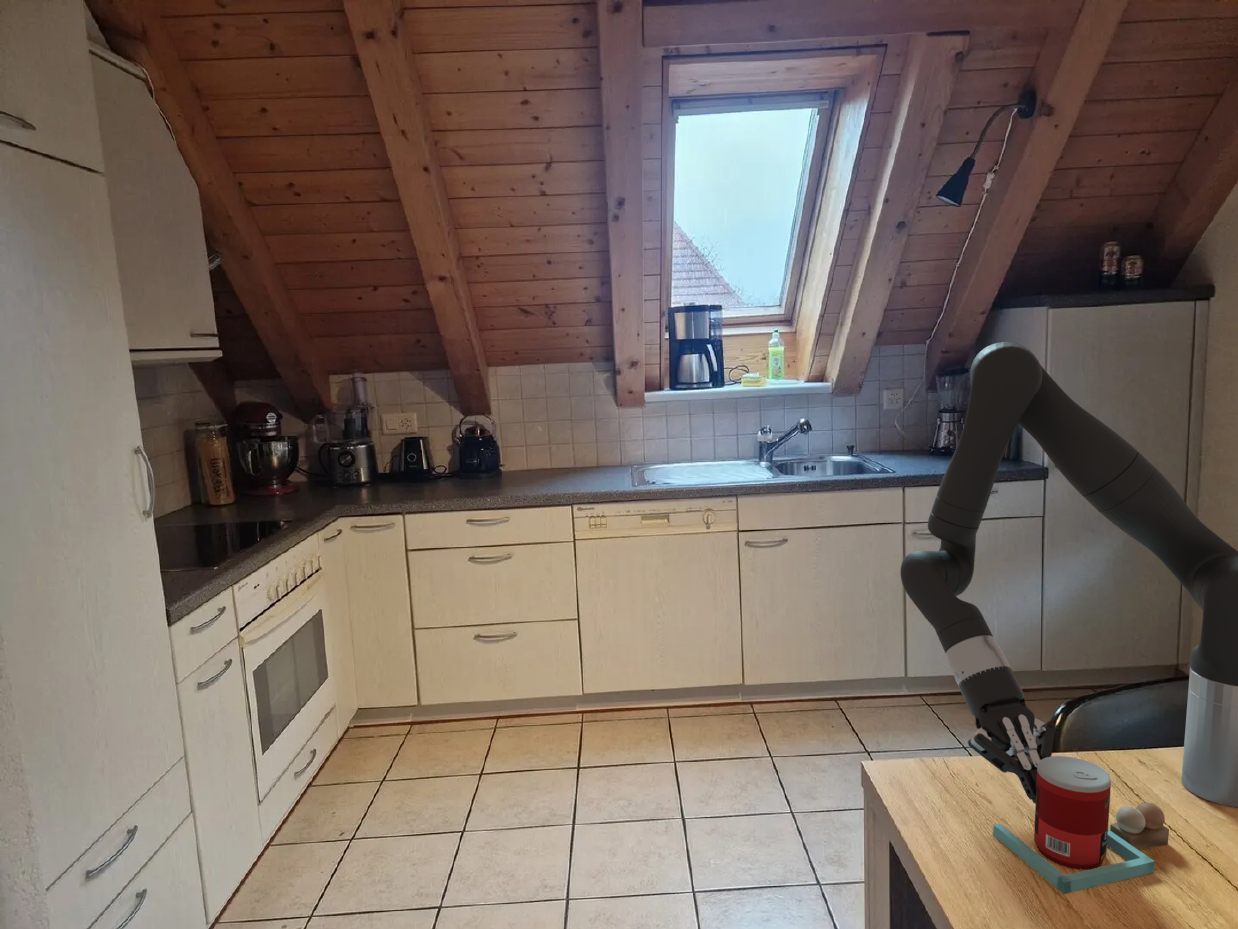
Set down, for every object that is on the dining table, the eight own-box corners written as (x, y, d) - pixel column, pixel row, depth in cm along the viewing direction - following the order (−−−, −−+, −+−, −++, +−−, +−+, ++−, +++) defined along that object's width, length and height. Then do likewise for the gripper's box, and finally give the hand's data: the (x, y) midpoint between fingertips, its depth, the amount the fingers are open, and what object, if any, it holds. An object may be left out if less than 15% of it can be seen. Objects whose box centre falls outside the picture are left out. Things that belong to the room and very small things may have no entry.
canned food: (1117, 873, 99) (1122, 789, 98) (1046, 870, 100) (1051, 786, 99) (1090, 835, 107) (1094, 756, 105) (1024, 832, 108) (1028, 754, 106)
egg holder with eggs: (1147, 829, 107) (1149, 795, 107) (1169, 844, 104) (1171, 809, 104) (1108, 838, 106) (1110, 803, 105) (1129, 853, 103) (1131, 817, 102)
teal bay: (1076, 817, 111) (1076, 807, 110) (1154, 872, 99) (1154, 861, 99) (993, 835, 107) (993, 824, 107) (1063, 894, 96) (1064, 882, 96)
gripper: (955, 671, 112) (1015, 802, 103) (1037, 658, 116) (1103, 784, 106) (930, 691, 118) (985, 817, 108) (1009, 679, 121) (1069, 800, 112)
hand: (1043, 801), depth 107 cm, fingers closed
